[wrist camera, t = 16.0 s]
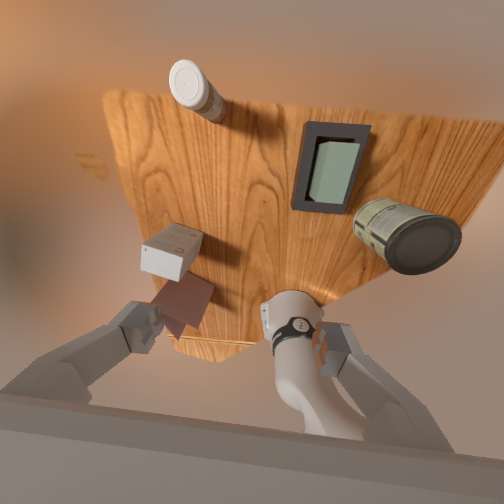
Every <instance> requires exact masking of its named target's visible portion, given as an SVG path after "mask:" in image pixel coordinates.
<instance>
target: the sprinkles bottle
mask: <svg viewBox="0 0 504 504" xmlns="http://www.w3.org/2000/svg"><path fill="white" fill-rule="evenodd" d="M169 84H170V89H171V92H172V94H173V96H174V98H175V99H176V100H177V101H178V102H179V103H180V104H181V105H182V106H184V107H186V108H187V109H190V110H193V111H194V112H196V113H197V114H199V115H201V116H202V117H204V118H206V119H207V120H209V121H210V122H212V123H218V122H220V121H221V120H222V119H223V118H224V116H225V114H226V104H225V102H224V99H223V98H222V97H221V96H220V95H219V93H218V92H217V91H216V89H215V88H214V87H213V85H212V84H211V83H210V82H209V81H208V80H207V79H206V76H205V75H204V73H203V72H202V70H201V69H200V68H199V67H198V66H197V65H196V64H195V63H194V62H192V61H190V60H185V59H184V60H180V61H178V62H176V63H175V64H174V66H173V67H172V69H171V71H170V76H169Z"/></svg>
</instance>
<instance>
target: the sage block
mask: <svg viewBox="0 0 504 504" xmlns="http://www.w3.org/2000/svg"><path fill="white" fill-rule="evenodd" d="M359 146H360V144H357V143H343V142H326V143H322V144H318V145H316V148H315V153H314V158H313V163H312V168H311V173H310V178H309V183H308V188H307V194H308V195H309V196H310V197H311V198H312V199H314V200H315V201H316V202H323V203H335V204H343V200H344V197H345V193H346V190H347V187H348V183H349V180H350V177H351V173H352V170H353V166H354V163H355V160H356V156H357V153H358V150H359Z"/></svg>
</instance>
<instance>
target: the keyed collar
mask: <svg viewBox="0 0 504 504" xmlns="http://www.w3.org/2000/svg"><path fill="white" fill-rule="evenodd" d="M371 126H372V125H360V124H345V123H330V122H315V121H307V122H306V123H305V124H304V125H303V131H302V137H301V144H300V150H299V156H298V162H297V168H296V174H295V181H294V187H293V193H292V199H291V208H292V210H300V211H312V212H324V213H335V214H345V211H346V208H347V205H348V201H349V198H350V195H351V191H352V188H353V185H354V182H355V178H356V175H357V172H358V169H359V165H360V162H361V159H362V155H363V152H364V149H365V146H366V142H367V139H368V136H369V133H370V129H371ZM316 138H318V139H333V140H347V141H346V143H357V144H360V146H359V150H358V153H357V156H356V160H355V163H354V166H353V170H352V173H351V177H350V180H349V183H348V187H347V190H346V193H345V197H344V200H343V204H335V203H323V202H316V201H315V200H314V199H312V198H308V197H305V195H306V189H307V184H308V179H309V174H310V169H311V164H312V159H313V154H314V148H315V143H316Z"/></svg>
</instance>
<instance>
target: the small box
mask: <svg viewBox="0 0 504 504" xmlns="http://www.w3.org/2000/svg"><path fill="white" fill-rule="evenodd" d="M203 235H204V233H203V232H200V231H197V230H194V229H192V228H189V227H186V226H183V225H180V224H177V223H174V222H173V223H172V224H170V225H169V226H167V227H166V228H165V229H163V230H162V231H160V232H159V233H158V234H156V235H155V236H153V237H152V238H150V239H149V240H148V241H146V242H145V243H143V244H142V253H141V271H145V272H148V273H151V274H154V275H157V276H161V277H164V278H167V279H170V280H173V281H176V282H179V281H180V280H181V278H182V277H183V275H184V274H185V272H186V271H187V270H188V268H189V267H190V265H191V264H192V262H193V261H194V260H195V258H196V257H197V255H198V254H199V251H200V247H201V243H202V239H203Z"/></svg>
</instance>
